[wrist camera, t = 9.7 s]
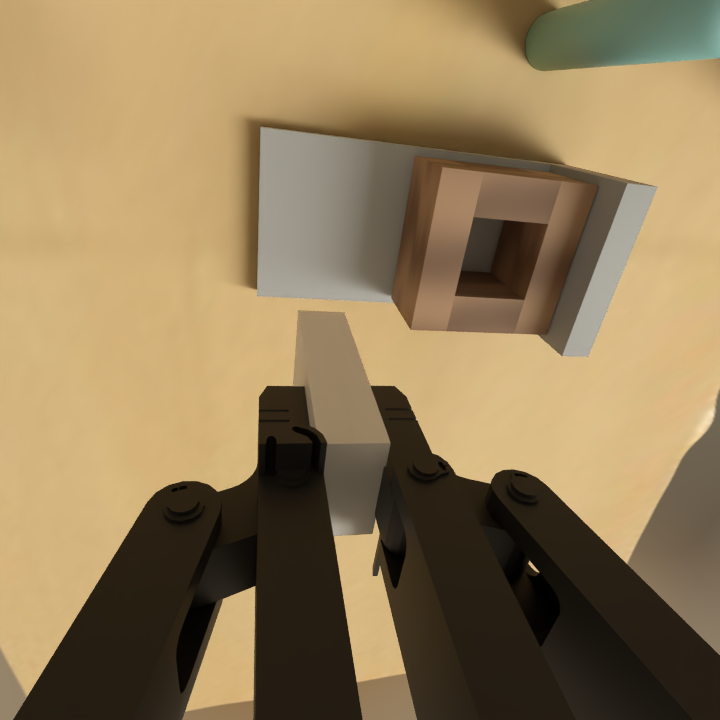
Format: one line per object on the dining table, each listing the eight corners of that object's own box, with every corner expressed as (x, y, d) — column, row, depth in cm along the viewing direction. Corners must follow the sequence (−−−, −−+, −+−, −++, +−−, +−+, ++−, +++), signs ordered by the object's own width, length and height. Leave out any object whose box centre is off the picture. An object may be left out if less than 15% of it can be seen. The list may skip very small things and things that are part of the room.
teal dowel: (534, 6, 29) (725, -54, 17) (579, 16, 30) (793, -36, 18) (519, 67, 30) (685, 50, 18) (562, 74, 31) (749, 63, 19)
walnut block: (414, 155, 30) (442, 167, 26) (550, 172, 33) (598, 185, 28) (391, 298, 35) (410, 329, 31) (510, 304, 37) (546, 334, 33)
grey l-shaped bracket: (260, 126, 29) (259, 138, 22) (566, 165, 34) (657, 187, 26) (257, 290, 35) (255, 348, 27) (523, 304, 39) (588, 356, 32)
